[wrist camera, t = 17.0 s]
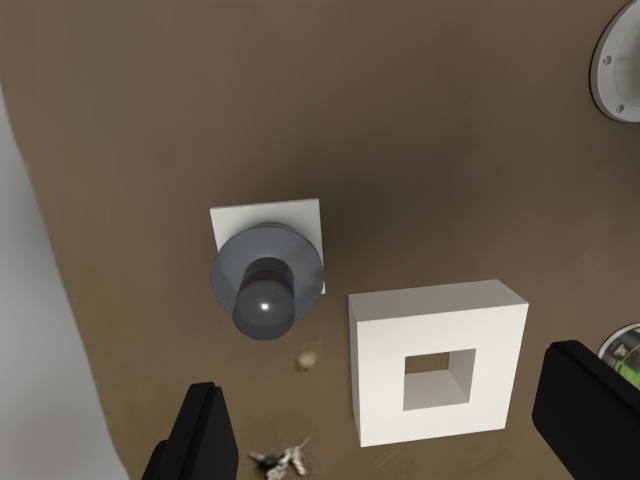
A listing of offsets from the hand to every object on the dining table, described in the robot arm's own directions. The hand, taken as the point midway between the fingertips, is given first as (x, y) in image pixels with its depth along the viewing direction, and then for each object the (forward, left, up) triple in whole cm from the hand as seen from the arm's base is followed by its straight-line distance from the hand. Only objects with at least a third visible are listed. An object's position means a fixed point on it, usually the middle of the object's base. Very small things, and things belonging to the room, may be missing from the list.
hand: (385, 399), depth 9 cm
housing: (-13, +24, -29) cm, 40 cm away
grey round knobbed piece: (+6, +7, -29) cm, 30 cm away
